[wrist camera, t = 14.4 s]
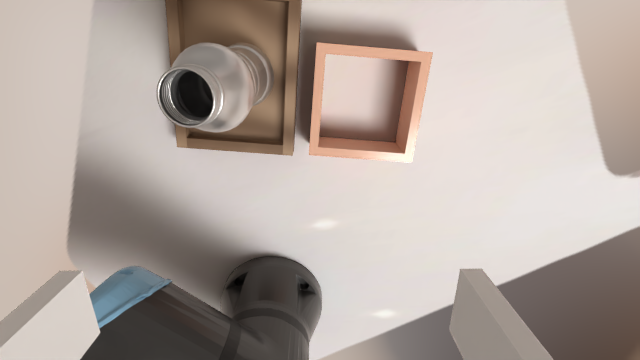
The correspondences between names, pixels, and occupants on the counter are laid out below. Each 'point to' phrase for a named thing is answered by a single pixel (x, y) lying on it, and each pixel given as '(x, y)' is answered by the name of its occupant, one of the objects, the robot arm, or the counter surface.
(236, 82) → the plastic bottle
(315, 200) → the counter surface
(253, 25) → the tray
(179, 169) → the counter surface
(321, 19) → the counter surface
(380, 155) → the wooden box frame
